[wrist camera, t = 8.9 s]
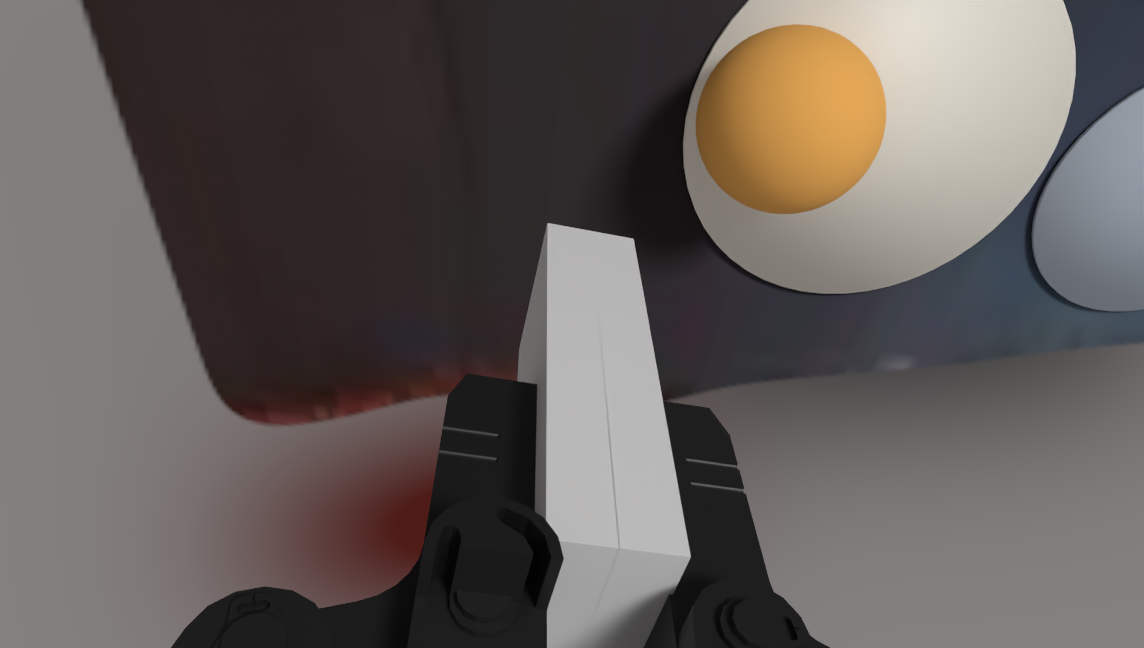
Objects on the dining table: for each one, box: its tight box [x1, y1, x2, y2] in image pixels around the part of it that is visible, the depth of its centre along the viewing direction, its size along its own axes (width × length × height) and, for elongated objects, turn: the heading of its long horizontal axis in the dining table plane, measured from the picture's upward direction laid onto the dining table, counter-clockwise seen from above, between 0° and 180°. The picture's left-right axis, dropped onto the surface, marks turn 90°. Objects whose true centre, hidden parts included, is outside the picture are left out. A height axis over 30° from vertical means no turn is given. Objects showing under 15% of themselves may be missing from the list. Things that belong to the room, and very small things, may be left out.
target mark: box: [683, 0, 1076, 294], centre depth 26 cm, size 13×13×1 cm
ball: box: [696, 24, 886, 214], centre depth 23 cm, size 6×6×6 cm
